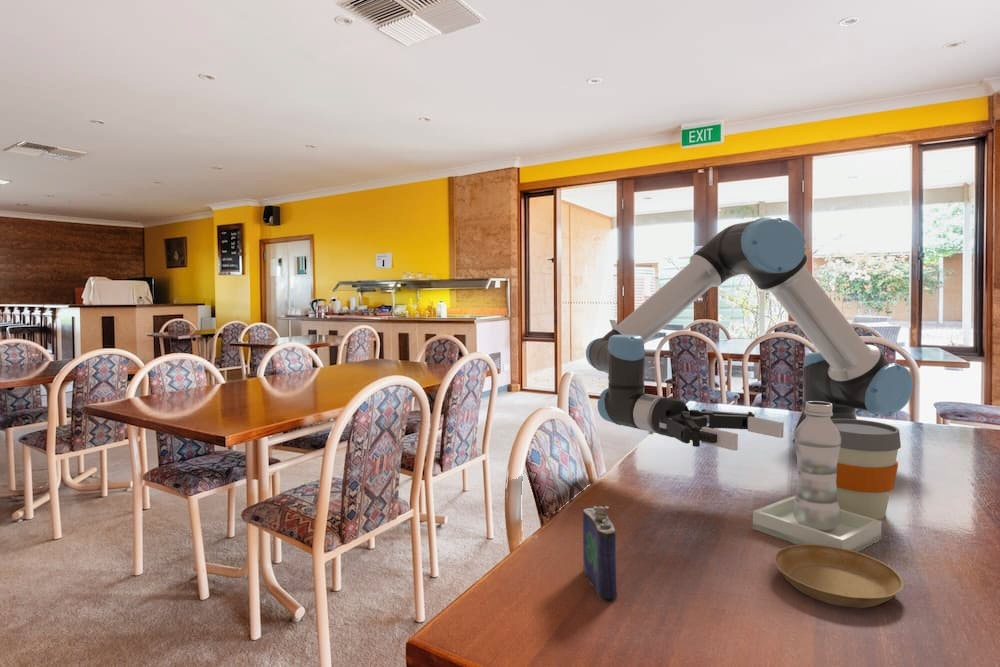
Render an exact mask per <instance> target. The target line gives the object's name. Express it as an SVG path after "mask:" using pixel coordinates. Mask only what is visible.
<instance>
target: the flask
mask: <svg viewBox="0 0 1000 667" xmlns="http://www.w3.org/2000/svg"><path fill="white" fill-rule="evenodd" d="M605 510H609V506H607V505H605V506H596V505H594V506H593V507H590V508H589V507H588V508H584V509H583V510H582V547H583V548H582V571H583V574H584V575H583V576H584V577H586V578H587V580H588V584H589V585H590V586H591V587H593V590H594V591H595V592H596V596H597V597H598V600H600V601H602V602H604V603H614V602H616V601H617V599H618V598H617V597H618V592H617V555H616V554H617V552H616V550H617V547H616V545H617V544H616V543H617V542H616V541H617V540H616V539H617V532H616V529H615V526H614V523H613V522H612V521H611V519H610V518H609V516H608V513H606V511H605Z"/></svg>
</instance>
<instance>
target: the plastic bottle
mask: <svg viewBox="0 0 1000 667" xmlns="http://www.w3.org/2000/svg"><path fill="white" fill-rule="evenodd" d="M804 414H806V415H807V416H806V418H805V419H804V420H803V421H802V422H801V423H800V425H799V426H798V427H797V429H796V431H795V430H794V431H795V434H794V433H793V437H794V438H795V439H794V438H793V439H794V444H795V453H796V458H797V459H796V461H797V480H796V481H797V482H796V491H795V495H794V496H795V499H794V505H793V513H794V518H795V520H796V521H797V523H798V524H801V525H804V526H807V527H810V528H814V529H817V530H820V531H829V530H834V529H835V528H836V527H837V526H838V524H839V521H840V516H841V514H840V506H839V502H838V496H837V483H836V478H837V474H836V472H837V465H838V458H839V453H840V447H841V446H840V445H841V440H842V439H841V435H840V432H839V431H838V429H837V427H836V426H835V425H834V423H833V422H832V421H831V418H830V417H831V416H833V413H832V404H831V403H828V402H819V401H809V402H806V405H805V412H804Z"/></svg>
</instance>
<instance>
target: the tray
mask: <svg viewBox="0 0 1000 667" xmlns="http://www.w3.org/2000/svg"><path fill="white" fill-rule="evenodd" d="M795 496H796V495H793V496H792V495H791V496H789V497H787V498H784V499H781V500H778V501H776V502H774V503H771V504H768V505H765V506H762V507H760V508H758V509H754V510H753V511H752V530H755V531H757V532H761V533H764V534H767V535H769V536H772V537H775V538H778V539H781V540H782V541H783V540H784V541H786V542H789V543H792V544H794V545H803V544H815V545H826V546H833V547H839V548H843V549H848V550H852V551H855V552H858V553H860V552H861V551H863V550H865V549H867V548H869V547H871V546H873V545H874V544H873V543H875V542H877V541H878V542H880V541H882V529H883V528H882V525H883V524H882V523H883V520H880V519H879V520H876V519H872V518H869V517H865V516H862V515H858V514H855V513H851V512H848V511H845V510H841V509H840V514H841V516H840V521H839V524H838V526H837V527H836V528H835V529H834V530H829V531H820V530H817V529H814V528H810V527H807V526H804V525H801V524H798V523H797V521H796V520H795V518H794V513H793V505H794V499H795ZM879 540H880V541H879ZM878 542H877V543H878ZM872 544H873V545H872ZM875 544H876V543H875ZM870 545H871V546H870ZM868 546H869V547H868ZM866 547H867V548H866Z"/></svg>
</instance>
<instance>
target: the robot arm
mask: <svg viewBox="0 0 1000 667" xmlns="http://www.w3.org/2000/svg"><path fill="white" fill-rule="evenodd" d="M805 244H806V239H805V236H804V232H802V230H801V228H800V227H799V226H798V225H797V224H796V223H794V222H793V221H791V220H789V219H788V218H787V219H786V218H783V217H777V216H776V217H773V216H772V217H769V216H767V217H766V216H765V217H761V218H758V219H755V220H752V221H747V222H741V223H736V224H735V223H734V224H732V225H729V226H727V227H725V228H723V229H722V230H721V231H719V232H718V233H716V234H715V235H714V236H713V237H712V238H711V239H710V240H709V241H707V242H706V243H705V244H704V245H703V246H701V247H700V248H699V249H698V250H697V251H696V252H695V253H693V254H692V255H691V256H690V257H689V263H687V265H686V266H685V267H683V268H682V269H681V270H680V271H679V272H678V273H677V274H675V275H674V276H673V277H672V278H670V279H669V281H667V282H666V283H665V284H664V285H663V286H662V287H660V288H659V289H658V290H657V291H656V292H655V293H653V294H652V295H651V296H650V297H648V299H646V300H645V301H644V302H643V303H642V304H640V305H639V306H638V307H637V308H636V309H635V310H634V311H632V312H631V313H630V314H629V315H627V317H624V319H622V320H621V322H619V323H618V324H617V325H616V326H615V327H613V329H611V330H610V331H609V332H607V333H606V334H605V335H604V336H602V337H599V338H596V339H593V340H592V341H590V342H589V344H588V345H587V347H586V350H585V358H586V360H587V362H588V364H589V365H590V366H591V367H593V368H594V369H596V370H597V371H598V372H604V373H605V374H608V386H607V387H608V388H606V389H603V391H602V392H601V393H600V394H599V399H598V400H597V411H598V414H599V415H600V417H601V418H602V419H604V421H607V422H610V423H613V424H615V425H617V426H624V427H628V428H633V429H637V430H640V431H641V430H642V431H646V432H648V434H649V435H654V434H658V435H661V436H665V437H669V438H674V439H676V440H678V441H680V442H681V443H683V444H690V443H691V441H692V447H695V448H699V447H700V445H701V444H705V445H710V446H714V447H718V448H722V449H727V450H731V451H738V449H739V446H738V445H739V444H738V442H739V438H738V437H739V434H738V433H735V432H729V431H725V430H721V429H727V430H728V429H730V430H747V432H749V433H750V432H751V433H755V434H759V435H764V436H770V437H775V438H780V439H782V438H783V439H784V433H785V432H784V428H785V427H784V426H785V425H784V422H783V421H778V420H771V419H768V418H761V417H755V414H754V413H753V412H752V411H747V412H746V413H744V412H735V411H734V412H733V411H719V410H711V409H706V408H703V409H701V410H698V409H689V408H688V406H687V404H686V403H685V402H684V401H683V400H681V399H677V398H672V397H665V396H661V395H656V394H649V393H645V357H646V350H645V345H646V343H648V342H649V341H650V340H651V339H652V338H653V337H654V336H656V335H657V334H658V333H659V332H661V331H662V330H663V329H664V328H665V327H666V326H668V324H670V323H671V322H672V321H673V320H674V319H676V318H677V317H678V316H680V314H681V313H682V312H684V311H685V310H686V309H687V308H688V307H689V306H691V305H692V304H693V303H694V302H695V301H696V300H697V301H698V299H700V297H701V296H703V295H704V294H705V293H706V292H707V291H708V290H709V289H711V288H712V287H713V288H714V287H715V288H717V287H720V286H721V285H722V284H723V283H725V281H727V280H729V279H732V278H733V277H736V276H739V275H748V277H750V279H751V280H752V281H753V283H754V284H755V285H756V287H757V288H758V289H759V290H760V291H765V292H766V291H770V292H771V294H772V295H773V296H774V298H775V299H776V300H777V301H778V302H779V304H780V305H781V306H782V307H783V308H784V310H785V311H786V313H788V315H789V316H790V318H791V319H792V320H793V321H794V323H795V325H797V326H798V327H799V329H800V330H801V331H802V333H804V334H803V335H805V336H806V337H807V339H808V340H809V341H810V342H811V344H812V345H813V346H814V348H815V349H816V350H817V351H818V352H809V353H806V355H805V356H804V359H803V366H802V373H803V374H802V375H803V376H802V409H801V410H802V411H801V413H800V416H799V418H798V421H797V423H796V426H795V428H794V433H793V435H794V434H795V431H796V429H797V427H798V426H799V425H800V423H801V422H802V421H803V420H804V419H805V418H806V416H807V415H806V414H804V412H805V405H806V402H809V401H819V402H828V403H831V404H832V413H833V416H831V417H830V418H831V419H857V416H856V409H857V410H861V411H864V412H868V413H870V414H873V415H883V416H888V415H889V416H890V415H894V414H897V413H898V412H900V411H901V410H902V409H903V408H905V407H906V405H907V404H908V403H909V401H910V400H911V397H912V394H913V393H912V392H913V389H914V379H913V376H912V374H911V372H910V371H909V369H908V368H907V367H905V366H904V365H900V363H895V362H892V363H891V362H890V361H889V360H888V359H887V357H886V356H885V354H883V353H882V351H881V350H880V349H879V348H878V346H876V345H874V344H866V343H865V341H863V339H862V338H861V337H860V335H859V334H858V332H857V331H856V329H854V328H853V326H852V325H851V324H850V322H849V321H848V320H847V318H846V316H844V315H843V314H842V312H841V310H840V309H839V308H838V307H837V306H836V304H835V303H834V301H832V299H831V298H830V297H829V295H828V294H827V293H826V291H825V290H824V289H823V287H822V286H821V285H820V284H819V282H818V281H817V280H816V278H815V277H814V276H813V275H812V273H811V272H810V271H809V269H808V268H807V264H808V262H809V257H808V255H807V254H806V247H805ZM857 420H858V419H857ZM793 439H794V440H795V438H793ZM700 443H701V444H700Z"/></svg>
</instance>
